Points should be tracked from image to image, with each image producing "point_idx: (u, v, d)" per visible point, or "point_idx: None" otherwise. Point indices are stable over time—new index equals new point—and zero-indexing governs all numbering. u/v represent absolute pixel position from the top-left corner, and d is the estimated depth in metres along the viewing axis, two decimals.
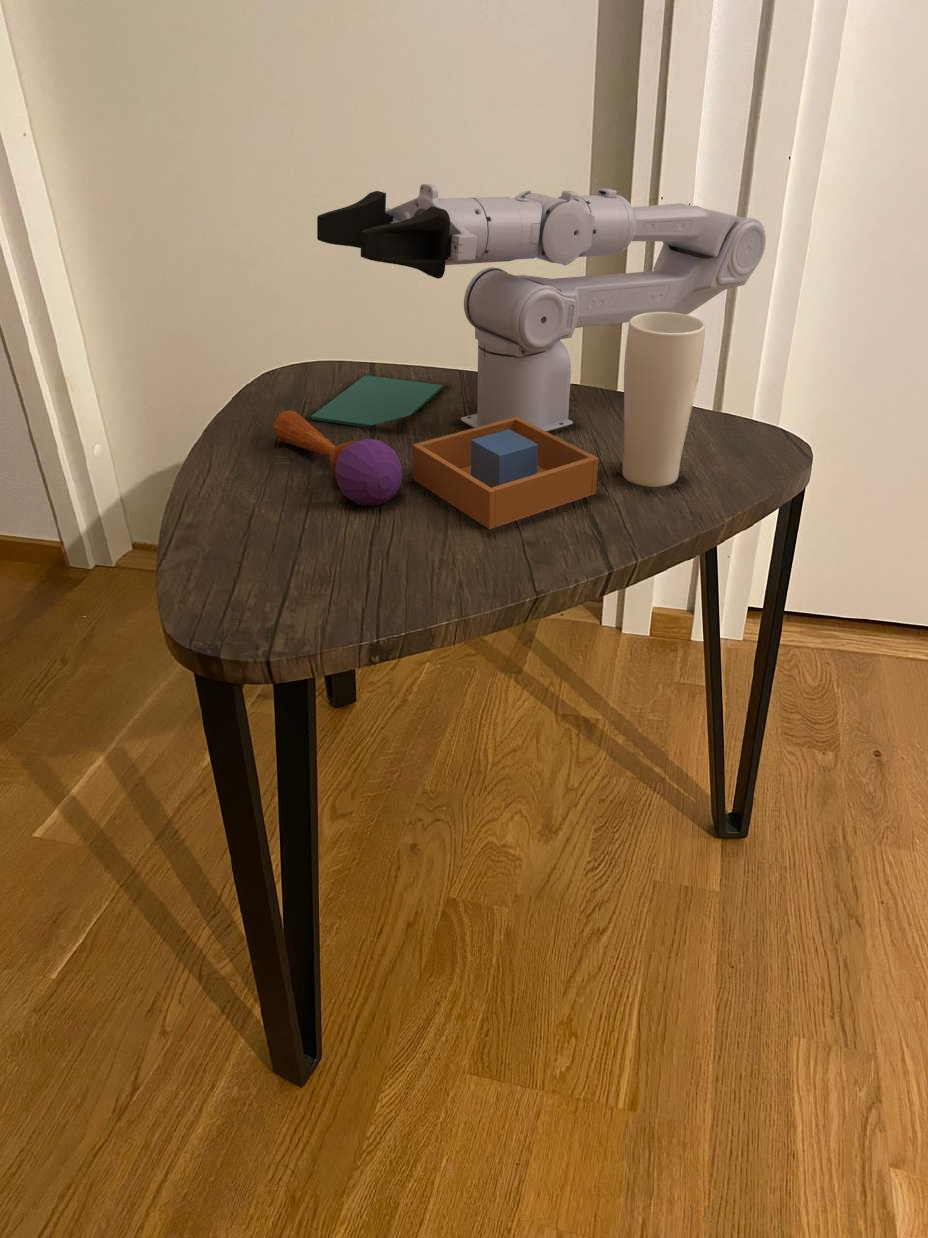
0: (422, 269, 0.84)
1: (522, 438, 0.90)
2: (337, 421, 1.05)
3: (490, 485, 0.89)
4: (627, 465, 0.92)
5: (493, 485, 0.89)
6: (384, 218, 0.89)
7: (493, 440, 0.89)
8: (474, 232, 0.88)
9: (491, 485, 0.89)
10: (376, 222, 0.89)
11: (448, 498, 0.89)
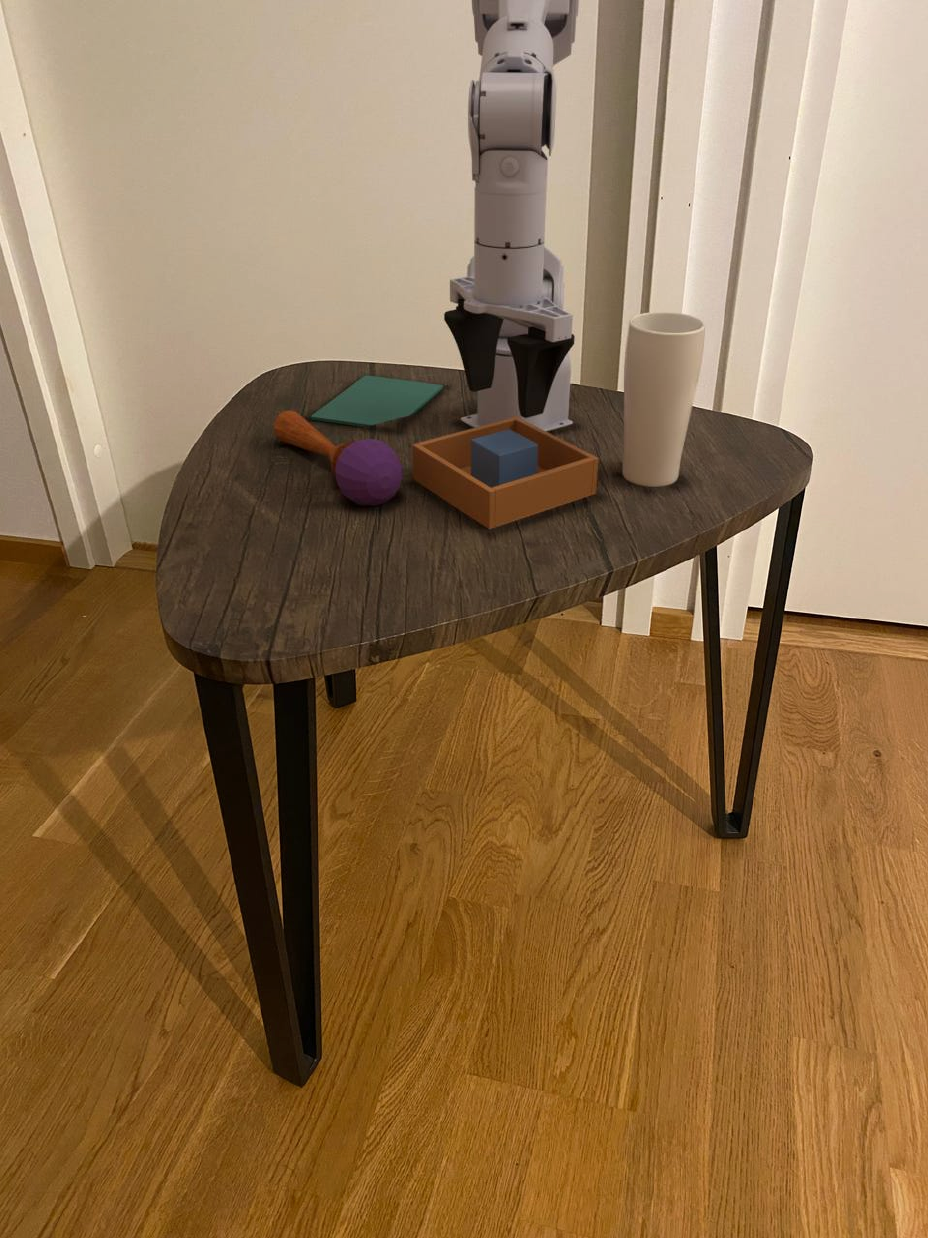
0: (564, 357, 0.81)
1: (522, 438, 0.90)
2: (337, 421, 1.05)
3: (490, 485, 0.89)
4: (627, 465, 0.92)
5: (493, 485, 0.89)
6: (475, 317, 0.86)
7: (493, 440, 0.89)
8: (526, 267, 0.78)
9: (491, 485, 0.89)
10: (478, 326, 0.86)
11: (448, 498, 0.89)
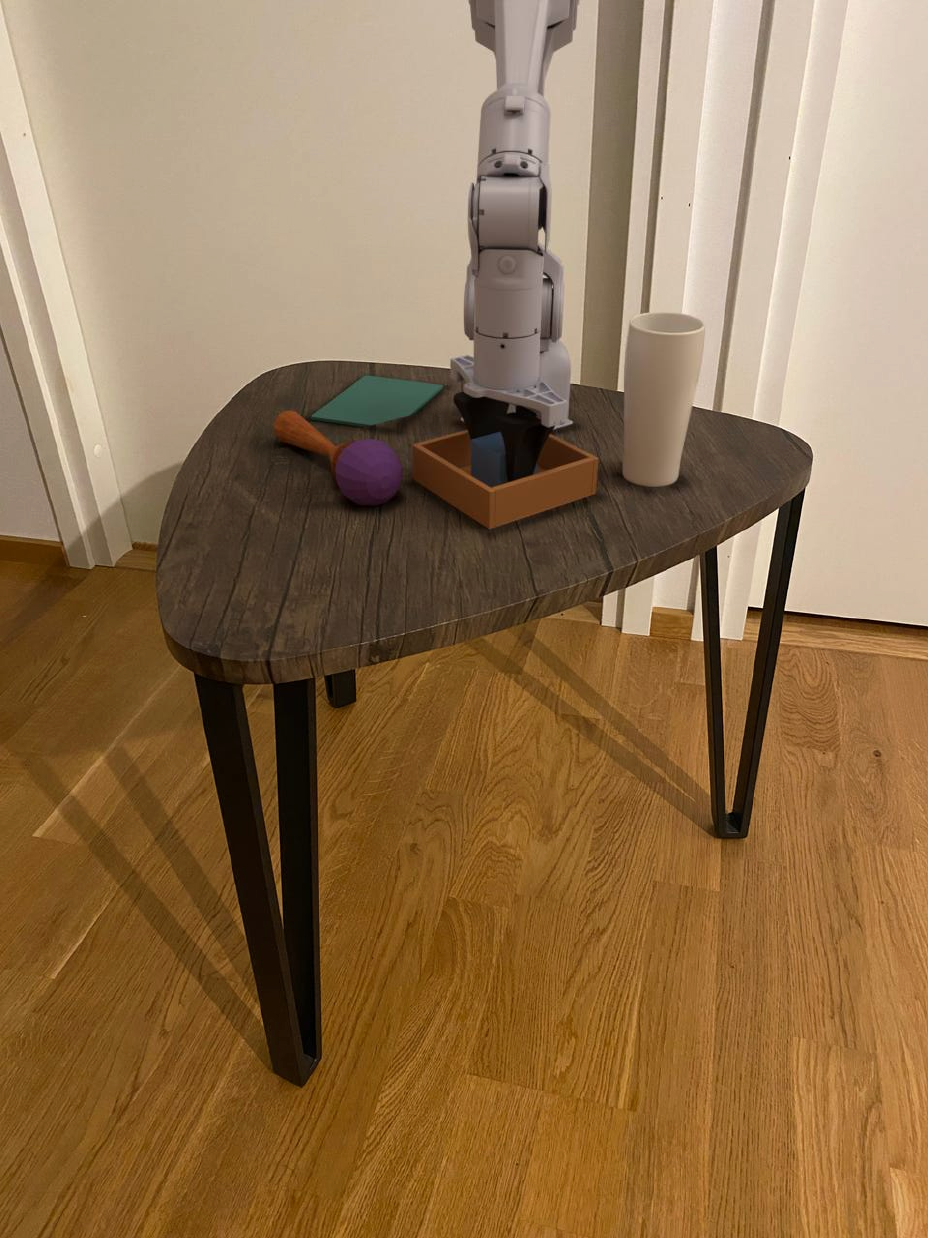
0: None
1: None
2: (337, 421, 1.05)
3: (490, 485, 0.89)
4: (627, 465, 0.92)
5: (493, 485, 0.89)
6: (484, 400, 0.89)
7: (493, 440, 0.89)
8: (523, 355, 0.82)
9: (491, 485, 0.89)
10: (486, 408, 0.89)
11: (448, 498, 0.89)
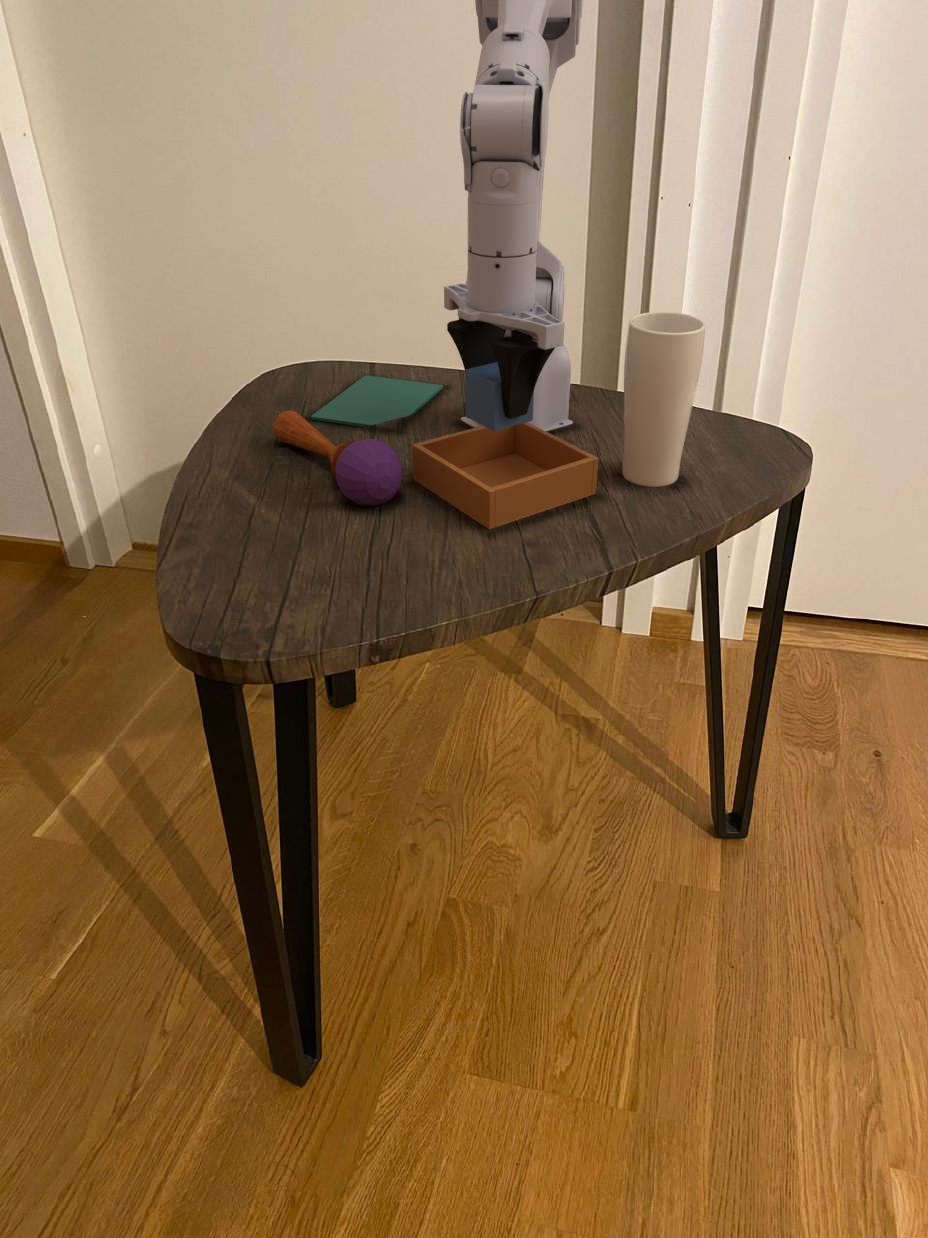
0: (546, 360, 0.84)
1: None
2: (337, 421, 1.05)
3: (485, 416, 0.87)
4: (627, 465, 0.92)
5: (488, 415, 0.86)
6: (478, 328, 0.86)
7: (488, 370, 0.87)
8: (518, 275, 0.79)
9: (486, 416, 0.86)
10: (481, 337, 0.86)
11: (448, 498, 0.89)
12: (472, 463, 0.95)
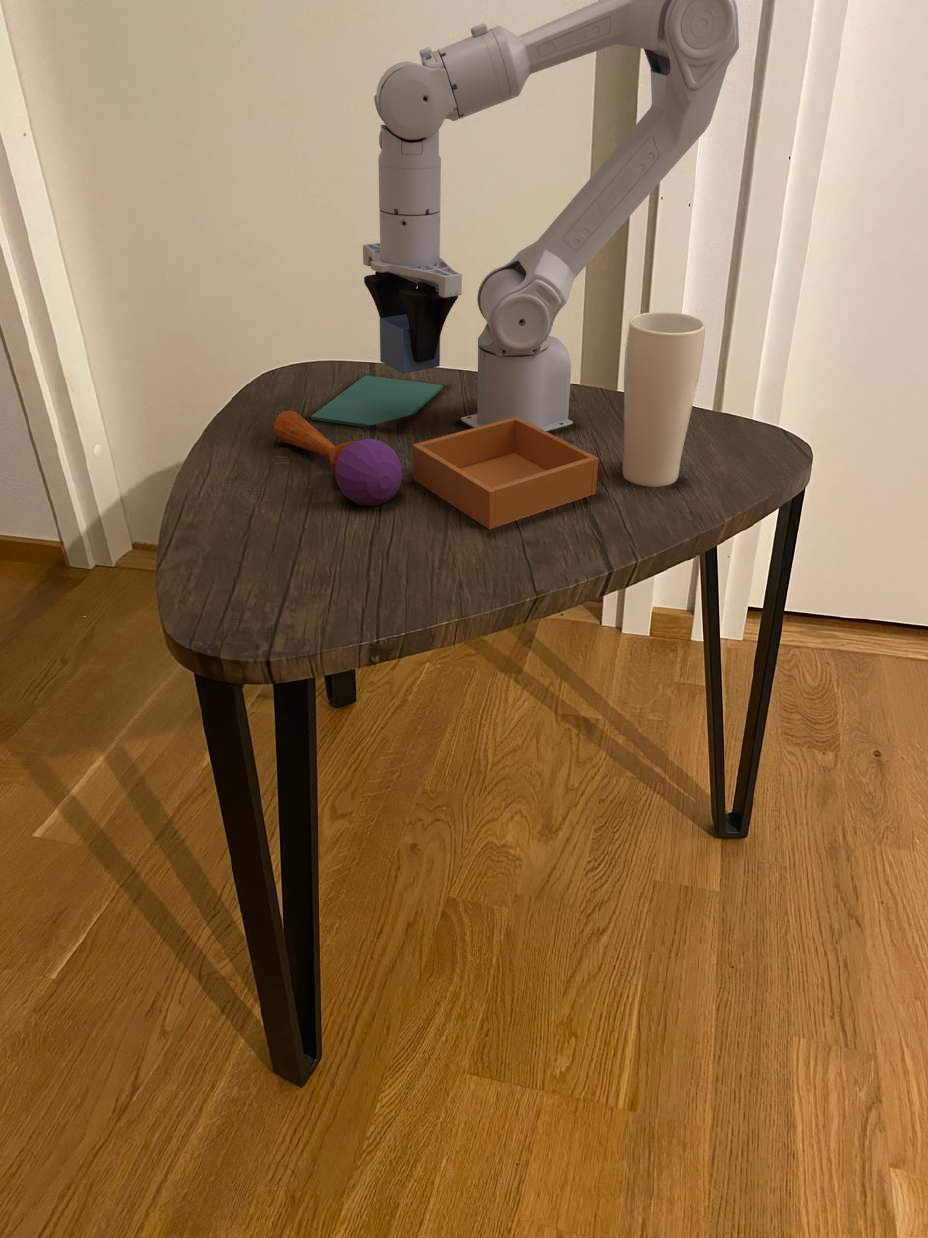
0: None
1: None
2: (337, 421, 1.05)
3: (396, 360, 0.97)
4: (627, 465, 0.92)
5: (398, 359, 0.97)
6: (391, 281, 0.97)
7: (399, 319, 0.97)
8: (423, 232, 0.90)
9: (397, 360, 0.97)
10: (394, 289, 0.97)
11: (448, 498, 0.89)
12: (472, 463, 0.95)
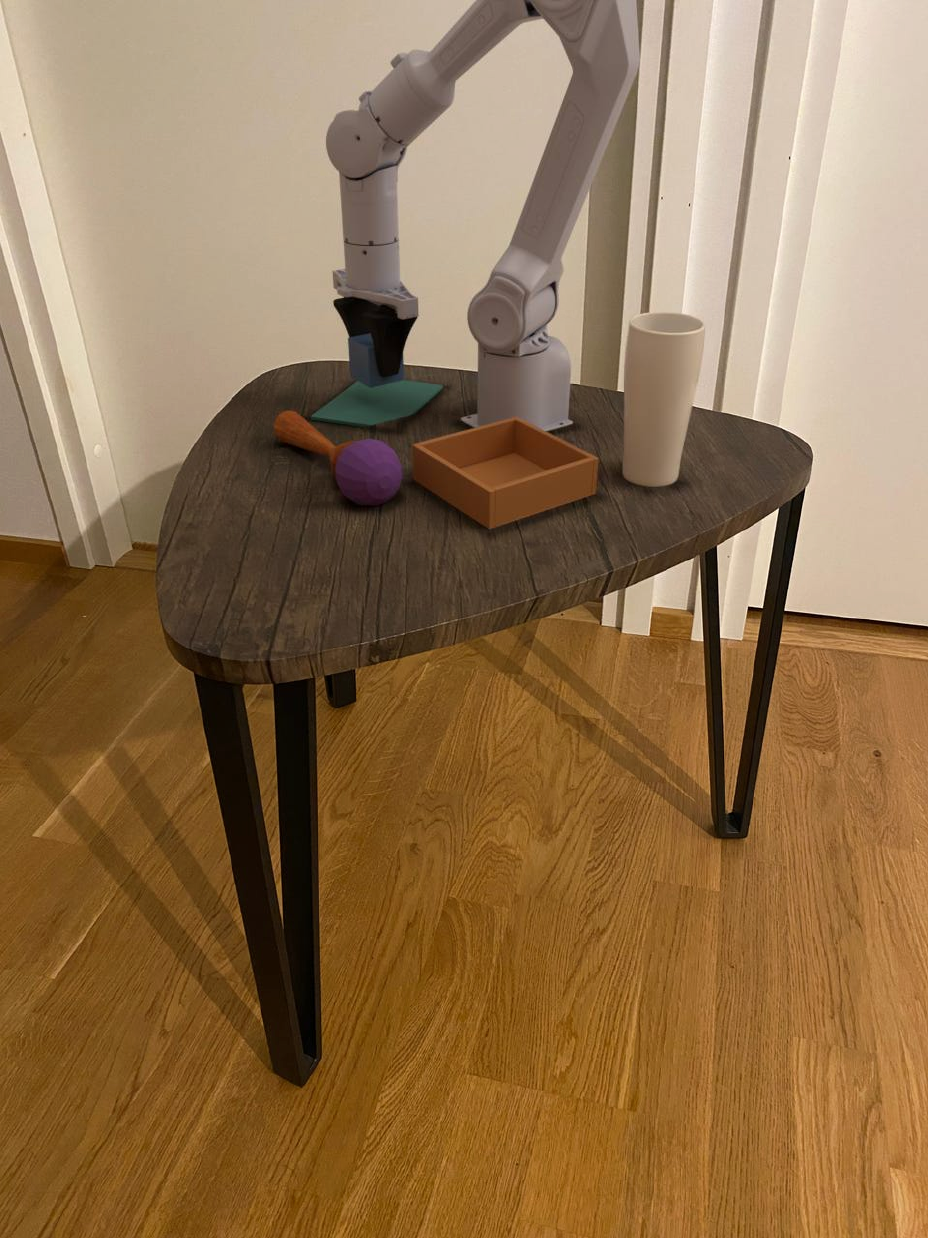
0: (410, 329, 1.04)
1: None
2: (337, 421, 1.05)
3: (363, 375, 1.07)
4: (627, 465, 0.92)
5: (365, 375, 1.06)
6: (358, 304, 1.06)
7: (366, 338, 1.07)
8: (382, 260, 1.00)
9: (364, 375, 1.06)
10: (361, 311, 1.07)
11: (448, 498, 0.89)
12: (472, 463, 0.95)
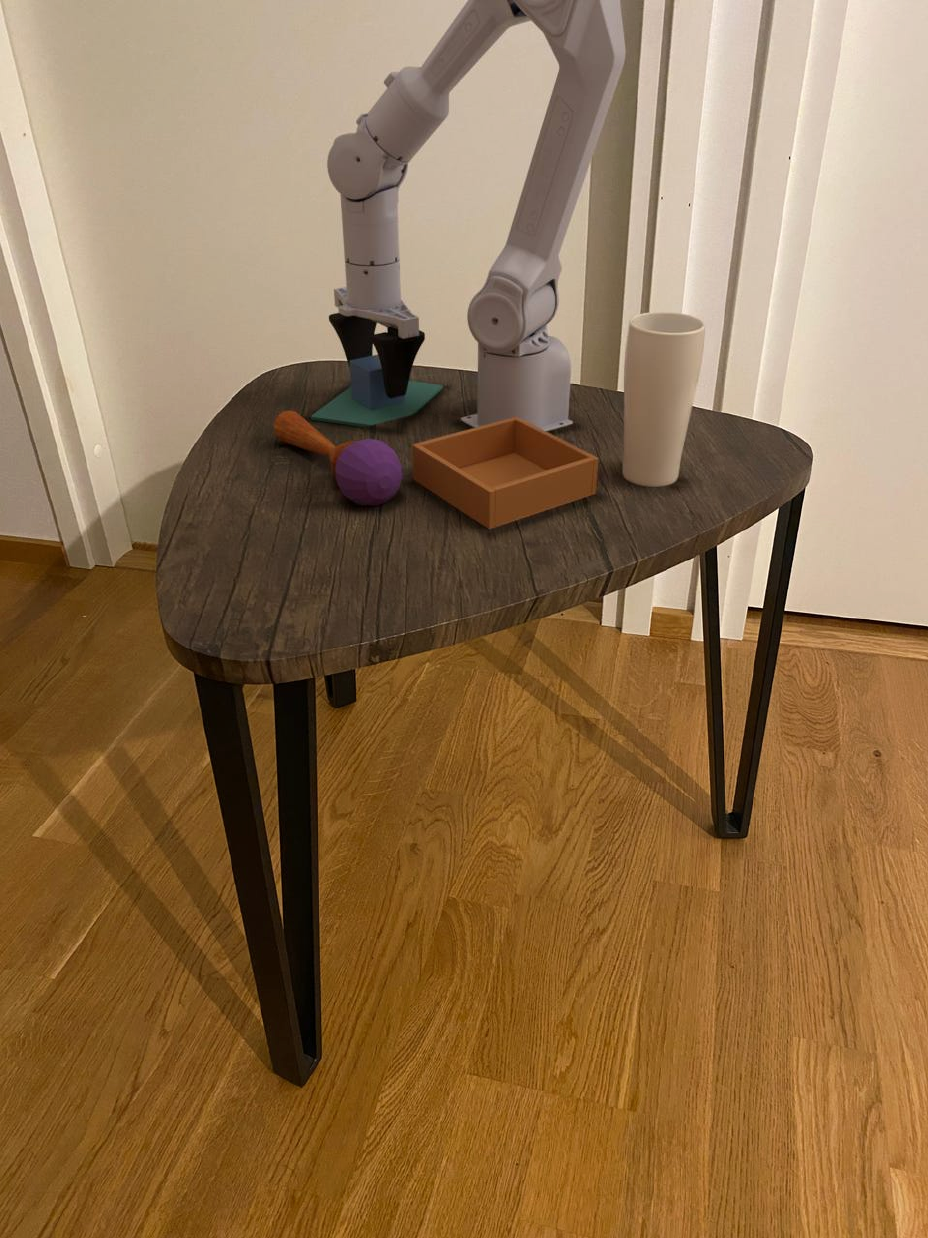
0: (418, 350, 1.04)
1: None
2: (337, 421, 1.05)
3: (364, 398, 1.08)
4: (627, 465, 0.92)
5: (366, 397, 1.08)
6: (353, 319, 1.08)
7: (367, 361, 1.08)
8: (383, 280, 1.01)
9: (365, 398, 1.08)
10: (356, 326, 1.09)
11: (448, 498, 0.89)
12: (472, 463, 0.95)
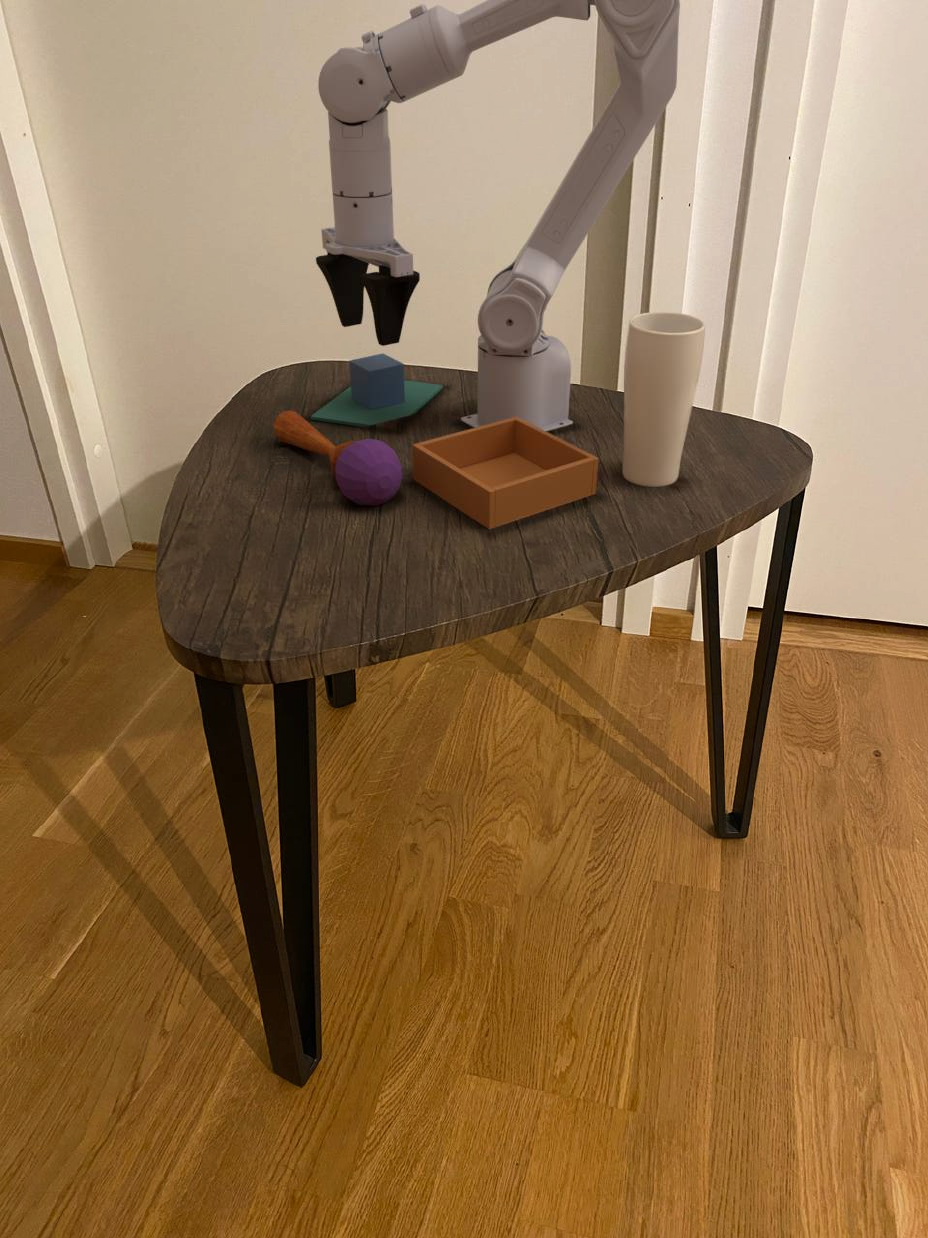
0: None
1: (391, 359, 1.08)
2: (337, 421, 1.05)
3: (364, 398, 1.08)
4: (627, 465, 0.92)
5: (366, 397, 1.08)
6: (342, 261, 1.00)
7: (367, 361, 1.08)
8: (374, 214, 0.92)
9: (365, 398, 1.08)
10: (345, 269, 1.00)
11: (448, 498, 0.89)
12: (472, 463, 0.95)
